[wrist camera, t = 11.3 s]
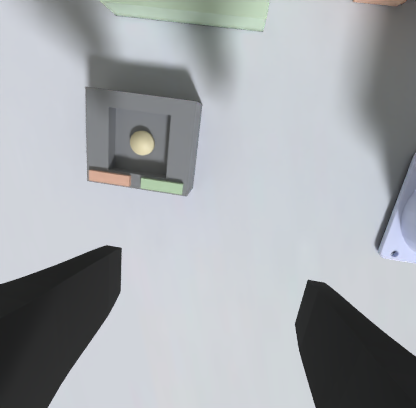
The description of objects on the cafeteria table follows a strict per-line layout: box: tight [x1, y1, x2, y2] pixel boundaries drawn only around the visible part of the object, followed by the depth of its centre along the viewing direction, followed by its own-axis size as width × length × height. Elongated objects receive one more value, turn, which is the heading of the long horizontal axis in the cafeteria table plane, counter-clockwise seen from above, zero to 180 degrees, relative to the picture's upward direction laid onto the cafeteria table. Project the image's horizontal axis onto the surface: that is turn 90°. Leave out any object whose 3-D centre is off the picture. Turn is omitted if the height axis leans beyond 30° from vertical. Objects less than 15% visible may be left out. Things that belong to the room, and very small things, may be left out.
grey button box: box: [86, 87, 202, 196], centre depth 17 cm, size 7×6×3 cm
